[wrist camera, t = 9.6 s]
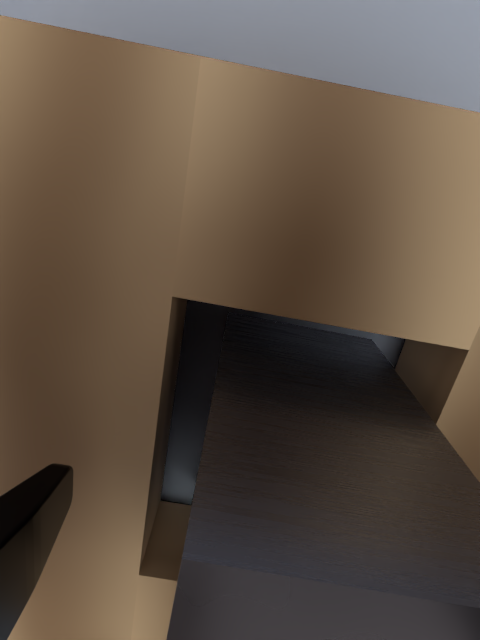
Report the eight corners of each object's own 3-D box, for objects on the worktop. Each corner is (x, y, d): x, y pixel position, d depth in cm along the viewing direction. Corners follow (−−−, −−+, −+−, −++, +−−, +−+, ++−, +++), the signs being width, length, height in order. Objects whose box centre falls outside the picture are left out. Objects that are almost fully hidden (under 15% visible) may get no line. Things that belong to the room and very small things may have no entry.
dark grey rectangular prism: (371, 339, 10) (588, 626, 4) (315, 502, 12) (386, 870, 6) (228, 311, 10) (182, 558, 3) (196, 481, 12) (129, 835, 6)
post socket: (645, 178, 8) (795, 177, 6) (409, 621, 14) (441, 709, 12) (33, 55, 8) (-58, 3, 6) (41, 564, 14) (-3, 643, 11)
